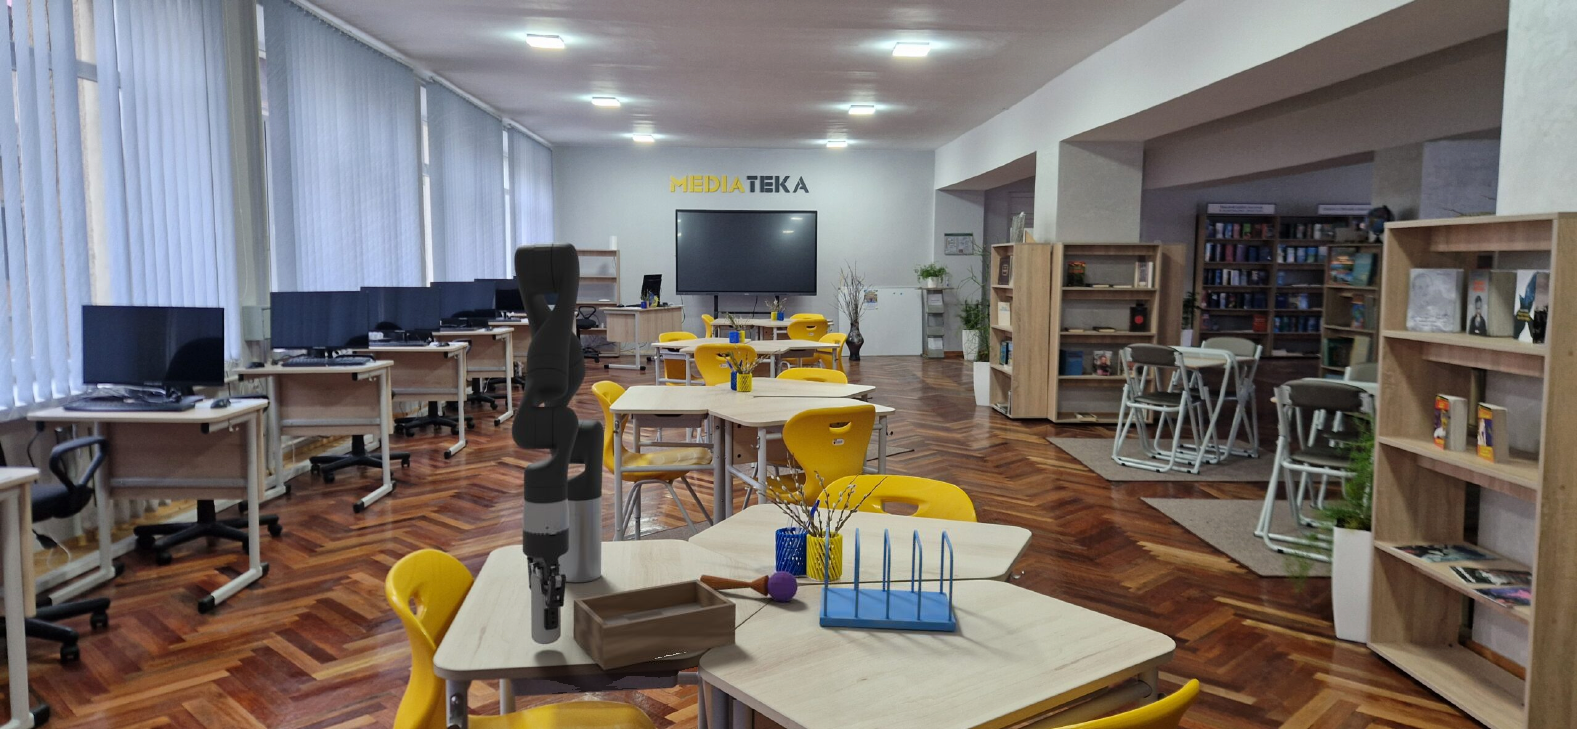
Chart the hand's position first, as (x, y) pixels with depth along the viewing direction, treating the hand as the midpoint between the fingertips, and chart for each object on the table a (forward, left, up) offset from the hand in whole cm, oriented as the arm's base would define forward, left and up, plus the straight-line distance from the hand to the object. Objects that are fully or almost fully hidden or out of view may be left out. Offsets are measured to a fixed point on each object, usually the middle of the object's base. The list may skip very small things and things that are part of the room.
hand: (546, 622), depth 158 cm
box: (+5, +18, -5) cm, 19 cm away
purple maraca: (-8, +44, -5) cm, 45 cm away
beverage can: (0, 0, -3) cm, 3 cm away
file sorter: (+13, +62, -5) cm, 64 cm away
